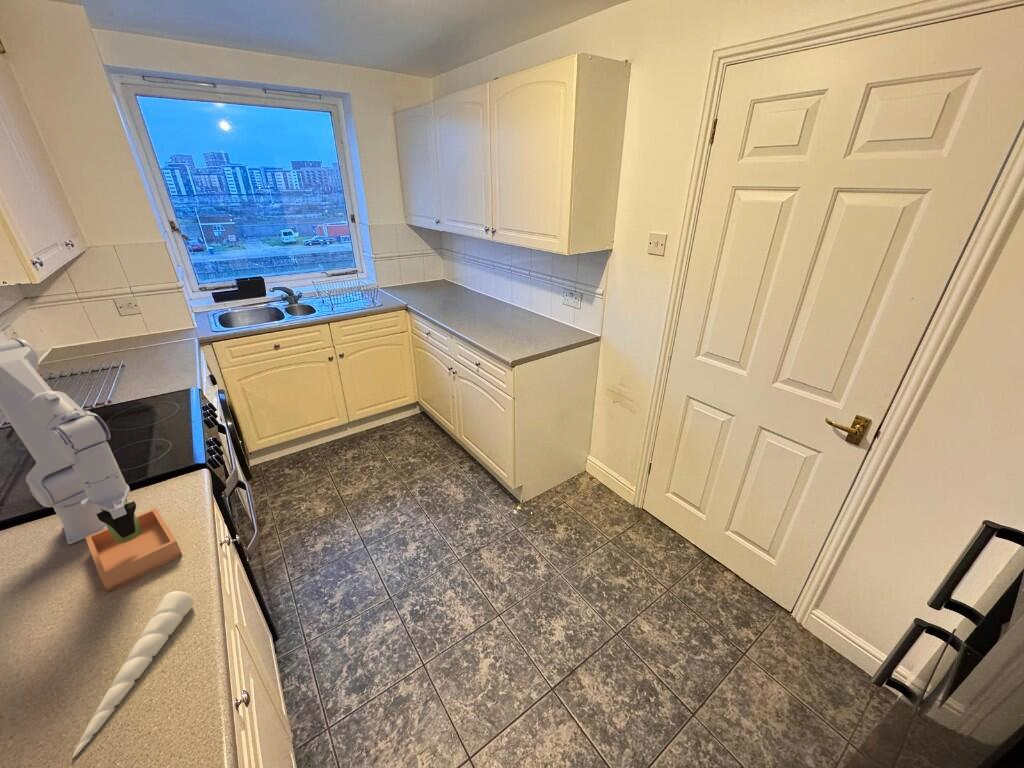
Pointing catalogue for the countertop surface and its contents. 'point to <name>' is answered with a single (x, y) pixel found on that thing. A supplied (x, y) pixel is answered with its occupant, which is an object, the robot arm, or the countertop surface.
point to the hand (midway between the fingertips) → (125, 528)
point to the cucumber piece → (119, 539)
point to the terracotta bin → (133, 551)
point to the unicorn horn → (140, 657)
